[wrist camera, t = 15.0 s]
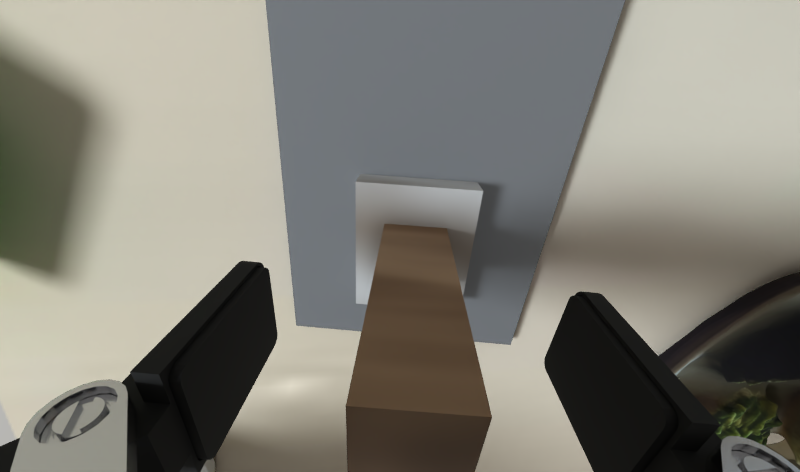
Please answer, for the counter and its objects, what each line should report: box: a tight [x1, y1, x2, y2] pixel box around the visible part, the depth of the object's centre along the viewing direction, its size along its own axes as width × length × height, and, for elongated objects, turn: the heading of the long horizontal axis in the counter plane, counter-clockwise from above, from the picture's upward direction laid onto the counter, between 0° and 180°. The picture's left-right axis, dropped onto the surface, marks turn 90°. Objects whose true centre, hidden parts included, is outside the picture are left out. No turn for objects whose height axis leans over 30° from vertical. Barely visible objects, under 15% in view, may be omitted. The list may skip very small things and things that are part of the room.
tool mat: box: [266, 0, 625, 345], centre depth 14 cm, size 16×12×1 cm
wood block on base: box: [346, 174, 492, 472], centre depth 10 cm, size 6×5×9 cm
